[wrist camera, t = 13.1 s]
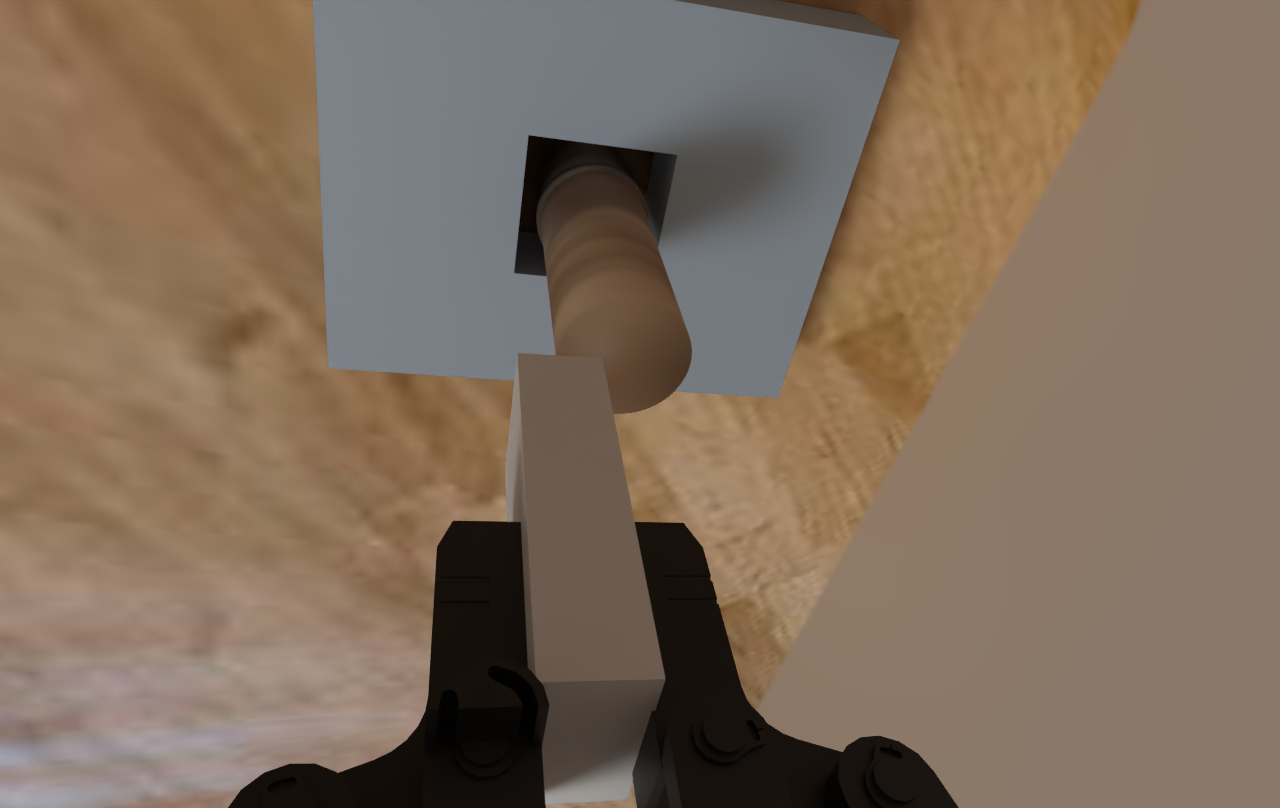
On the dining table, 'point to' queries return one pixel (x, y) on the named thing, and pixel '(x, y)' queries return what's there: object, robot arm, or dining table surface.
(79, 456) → the dining table surface
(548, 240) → the peg
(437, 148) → the seat board
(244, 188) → the dining table surface
